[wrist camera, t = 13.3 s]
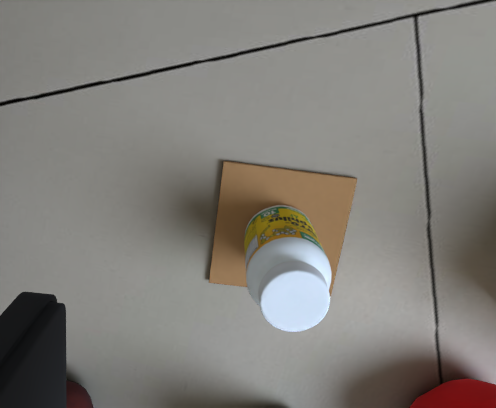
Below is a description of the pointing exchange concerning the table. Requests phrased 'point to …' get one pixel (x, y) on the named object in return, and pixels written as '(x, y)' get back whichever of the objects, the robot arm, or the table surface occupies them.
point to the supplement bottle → (287, 268)
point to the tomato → (459, 395)
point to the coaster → (271, 194)
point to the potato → (77, 396)
